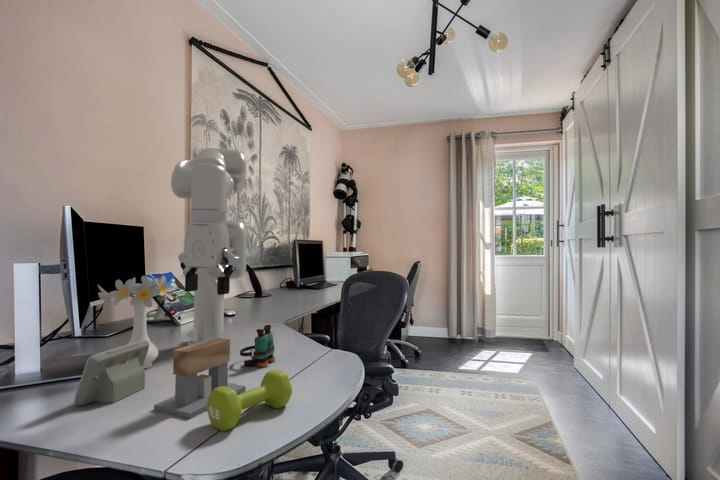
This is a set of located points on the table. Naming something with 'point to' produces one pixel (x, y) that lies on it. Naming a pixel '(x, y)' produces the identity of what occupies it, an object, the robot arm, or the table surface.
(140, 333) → the flower vase
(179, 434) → the table surface
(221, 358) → the tan bar
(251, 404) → the dumbbell
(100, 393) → the digital clock
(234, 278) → the robot arm
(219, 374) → the display stand
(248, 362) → the binoculars
